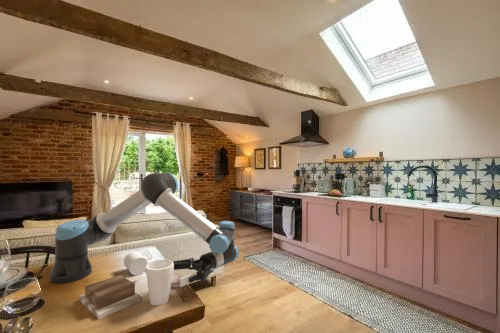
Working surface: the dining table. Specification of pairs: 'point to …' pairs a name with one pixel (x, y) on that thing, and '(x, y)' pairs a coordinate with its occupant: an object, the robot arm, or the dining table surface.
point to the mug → (136, 263)
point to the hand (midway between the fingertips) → (169, 277)
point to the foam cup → (159, 280)
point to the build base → (111, 307)
